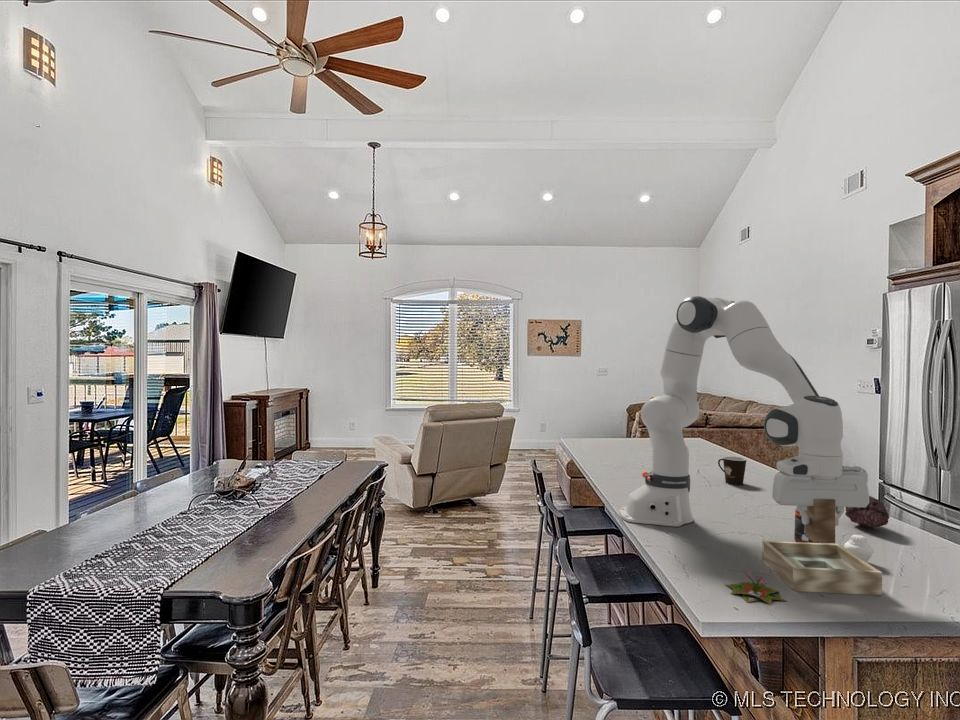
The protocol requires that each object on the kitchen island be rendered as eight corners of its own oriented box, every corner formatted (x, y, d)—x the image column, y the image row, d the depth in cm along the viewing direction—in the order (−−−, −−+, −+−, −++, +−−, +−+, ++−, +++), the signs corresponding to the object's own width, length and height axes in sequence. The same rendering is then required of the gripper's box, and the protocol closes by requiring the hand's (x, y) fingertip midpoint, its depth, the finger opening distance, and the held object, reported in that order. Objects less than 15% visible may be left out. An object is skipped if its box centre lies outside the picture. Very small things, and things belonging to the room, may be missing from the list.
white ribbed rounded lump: (845, 555, 144) (845, 528, 144) (874, 561, 140) (874, 534, 140) (842, 562, 139) (842, 534, 139) (872, 568, 135) (872, 540, 135)
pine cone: (902, 539, 157) (902, 504, 157) (863, 537, 159) (864, 502, 159) (869, 520, 175) (870, 489, 174) (835, 518, 176) (835, 487, 176)
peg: (814, 542, 128) (814, 499, 128) (805, 536, 132) (805, 494, 132) (835, 543, 128) (835, 500, 127) (825, 536, 132) (825, 495, 132)
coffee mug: (750, 486, 219) (750, 460, 218) (728, 485, 219) (728, 460, 219) (736, 479, 230) (737, 455, 230) (715, 478, 230) (716, 455, 230)
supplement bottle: (810, 547, 150) (811, 505, 150) (789, 540, 156) (790, 500, 155) (823, 543, 153) (824, 502, 153) (802, 537, 158) (803, 497, 158)
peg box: (794, 590, 122) (795, 568, 122) (761, 560, 140) (762, 540, 140) (881, 595, 121) (882, 572, 120) (837, 563, 138) (837, 543, 138)
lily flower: (798, 607, 116) (799, 585, 116) (744, 609, 115) (744, 587, 115) (764, 583, 128) (764, 563, 128) (714, 584, 127) (715, 564, 127)
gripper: (859, 464, 132) (859, 521, 132) (769, 462, 134) (769, 519, 134) (875, 469, 126) (875, 530, 126) (781, 467, 128) (780, 527, 128)
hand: (819, 524), depth 130 cm, fingers closed on peg, 4 cm apart
